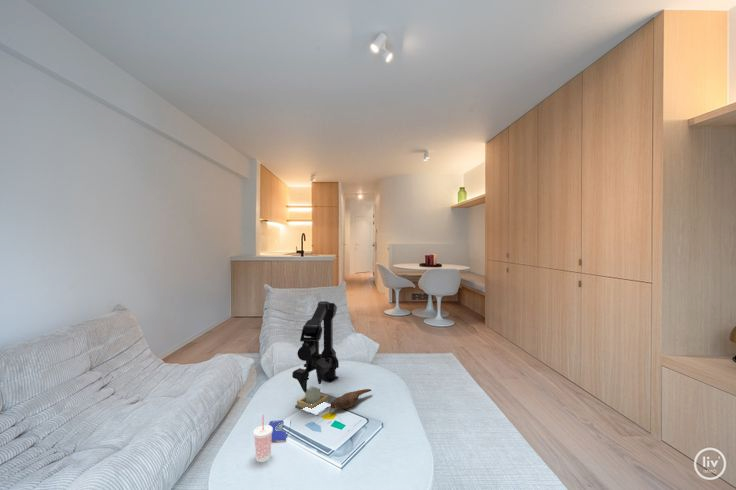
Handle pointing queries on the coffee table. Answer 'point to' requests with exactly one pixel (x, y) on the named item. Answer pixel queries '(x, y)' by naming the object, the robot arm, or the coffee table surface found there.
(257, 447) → the beverage cup
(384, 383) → the coffee table surface
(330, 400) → the socket dock
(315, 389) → the block
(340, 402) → the bird sculpture
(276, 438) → the hard drive
